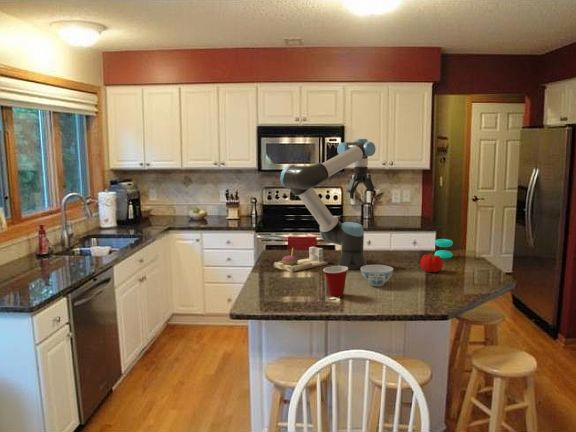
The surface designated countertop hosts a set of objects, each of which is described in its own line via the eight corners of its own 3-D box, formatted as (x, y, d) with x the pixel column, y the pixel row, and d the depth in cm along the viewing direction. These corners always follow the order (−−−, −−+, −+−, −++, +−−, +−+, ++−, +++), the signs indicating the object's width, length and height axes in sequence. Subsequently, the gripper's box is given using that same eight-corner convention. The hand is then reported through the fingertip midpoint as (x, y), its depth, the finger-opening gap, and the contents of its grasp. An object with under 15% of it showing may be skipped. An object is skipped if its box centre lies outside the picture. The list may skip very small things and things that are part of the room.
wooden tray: (328, 264, 272) (327, 249, 271) (291, 272, 256) (291, 256, 255) (309, 259, 283) (309, 245, 282) (274, 267, 267) (273, 252, 266)
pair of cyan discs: (431, 239, 286) (442, 238, 291) (430, 256, 287) (442, 254, 293) (445, 242, 278) (456, 240, 283) (444, 259, 279) (456, 257, 285)
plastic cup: (321, 292, 220) (321, 265, 218) (345, 291, 221) (345, 264, 219) (325, 299, 209) (325, 271, 208) (350, 298, 210) (350, 270, 208)
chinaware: (386, 290, 220) (386, 273, 219) (355, 286, 228) (355, 269, 227) (397, 282, 233) (398, 266, 232) (368, 278, 241) (368, 263, 240)
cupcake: (300, 267, 266) (300, 245, 265) (293, 271, 259) (293, 248, 257) (286, 266, 270) (285, 244, 269) (279, 269, 263) (278, 247, 261)
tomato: (443, 274, 247) (443, 257, 246) (420, 273, 249) (421, 256, 248) (441, 269, 257) (441, 253, 256) (419, 268, 259) (419, 252, 258)
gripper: (370, 165, 292) (370, 201, 295) (340, 166, 276) (341, 204, 279) (380, 165, 286) (380, 202, 289) (350, 167, 271) (350, 205, 273)
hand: (360, 203), depth 284 cm, fingers open, 13 cm apart
